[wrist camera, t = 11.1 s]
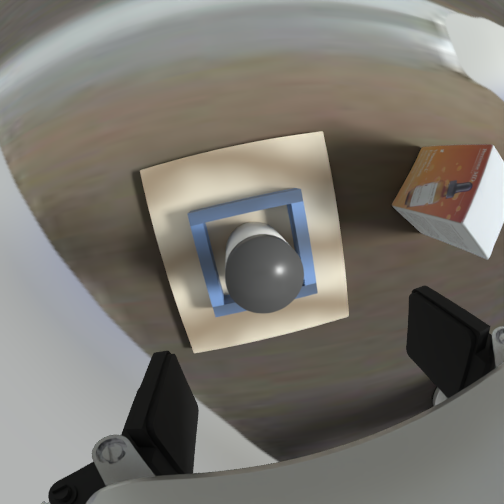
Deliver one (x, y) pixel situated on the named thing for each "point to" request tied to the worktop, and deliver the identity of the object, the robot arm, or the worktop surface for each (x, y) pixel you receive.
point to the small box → (456, 196)
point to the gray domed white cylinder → (261, 269)
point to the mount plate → (240, 212)
